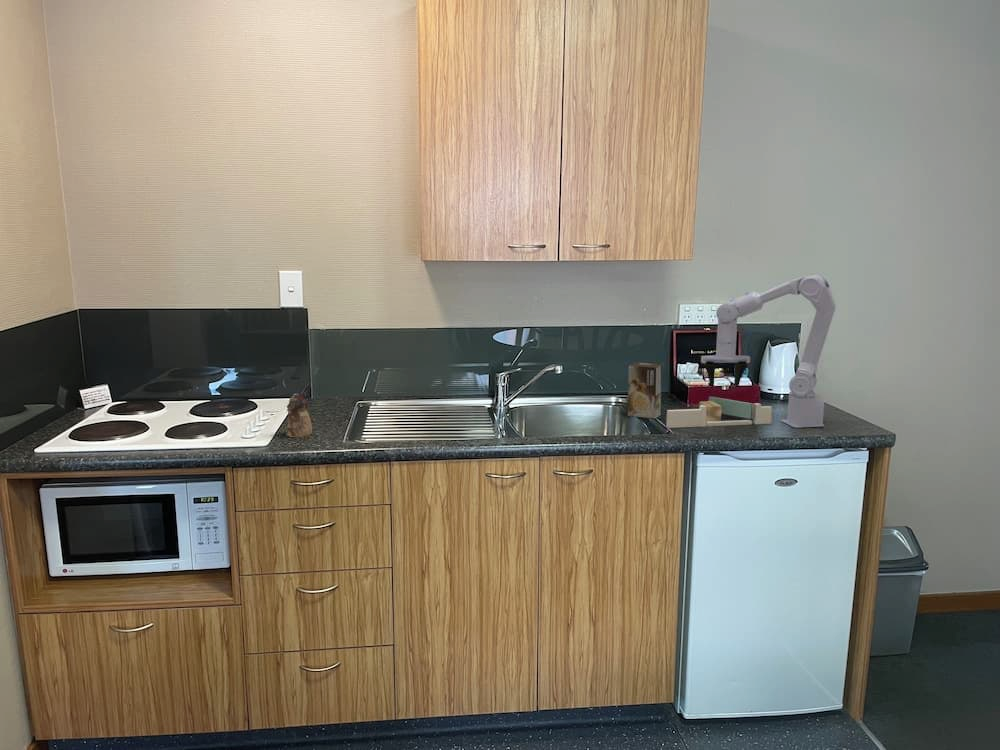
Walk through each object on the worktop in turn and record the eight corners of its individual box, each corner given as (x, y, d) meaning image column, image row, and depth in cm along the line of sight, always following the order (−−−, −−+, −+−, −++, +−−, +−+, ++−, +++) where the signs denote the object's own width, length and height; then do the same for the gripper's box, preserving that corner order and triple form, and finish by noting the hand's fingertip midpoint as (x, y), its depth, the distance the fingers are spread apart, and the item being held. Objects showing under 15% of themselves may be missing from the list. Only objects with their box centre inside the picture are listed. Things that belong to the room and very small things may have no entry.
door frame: (768, 422, 234) (769, 402, 232) (771, 423, 232) (772, 404, 231) (666, 426, 229) (666, 406, 228) (668, 428, 227) (669, 408, 226)
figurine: (285, 432, 224) (283, 391, 221) (310, 430, 226) (308, 389, 224) (287, 438, 217) (285, 396, 215) (313, 436, 220) (311, 394, 217)
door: (754, 418, 232) (755, 404, 231) (753, 419, 231) (754, 404, 230) (709, 410, 242) (710, 396, 241) (708, 411, 241) (708, 396, 240)
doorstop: (711, 416, 241) (711, 400, 240) (720, 422, 234) (721, 406, 233) (698, 417, 240) (699, 401, 239) (708, 422, 233) (708, 406, 232)
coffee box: (661, 414, 243) (663, 364, 240) (655, 419, 238) (657, 367, 234) (633, 411, 247) (634, 361, 244) (626, 416, 242) (628, 365, 239)
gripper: (706, 344, 234) (704, 388, 236) (754, 344, 234) (751, 388, 236) (700, 340, 240) (698, 383, 243) (746, 340, 241) (744, 383, 243)
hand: (724, 385), depth 240 cm, fingers open, 7 cm apart
